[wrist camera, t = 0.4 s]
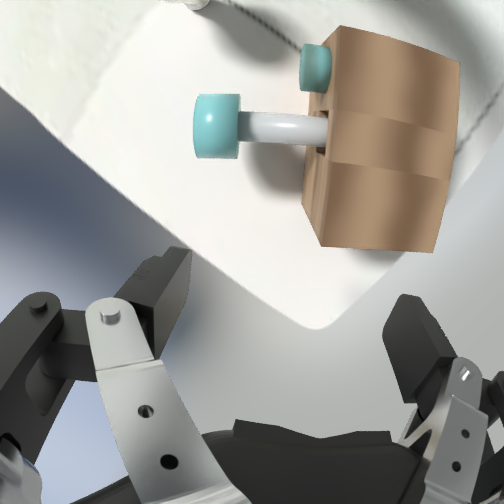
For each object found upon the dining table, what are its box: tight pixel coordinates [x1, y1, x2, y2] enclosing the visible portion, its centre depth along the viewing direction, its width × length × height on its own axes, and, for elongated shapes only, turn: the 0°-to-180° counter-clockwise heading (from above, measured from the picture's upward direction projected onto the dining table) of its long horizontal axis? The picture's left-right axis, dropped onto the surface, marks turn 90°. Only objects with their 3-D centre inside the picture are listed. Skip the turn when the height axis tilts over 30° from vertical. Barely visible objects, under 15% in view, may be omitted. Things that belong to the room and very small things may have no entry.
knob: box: [193, 94, 328, 159], centre depth 21 cm, size 15×5×5 cm, turn 88°
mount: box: [299, 25, 460, 253], centre depth 23 cm, size 12×16×11 cm
